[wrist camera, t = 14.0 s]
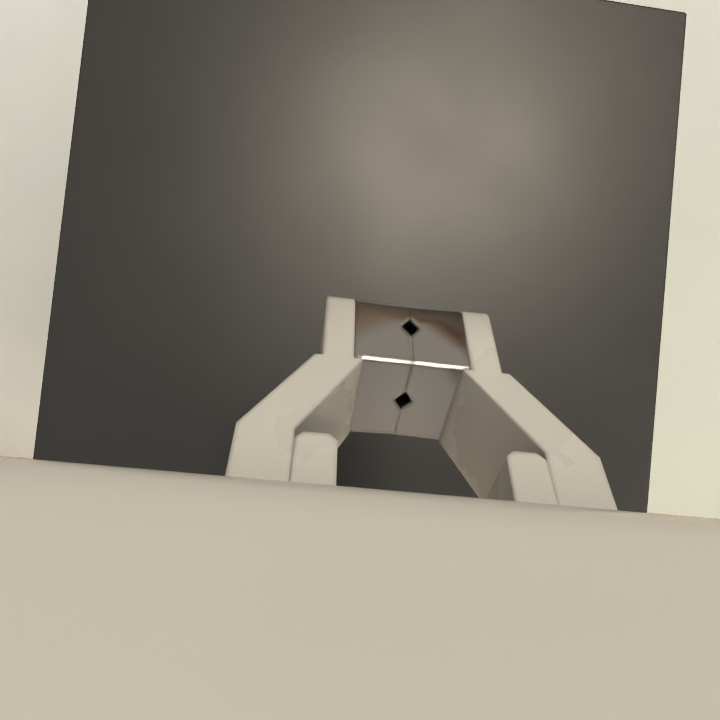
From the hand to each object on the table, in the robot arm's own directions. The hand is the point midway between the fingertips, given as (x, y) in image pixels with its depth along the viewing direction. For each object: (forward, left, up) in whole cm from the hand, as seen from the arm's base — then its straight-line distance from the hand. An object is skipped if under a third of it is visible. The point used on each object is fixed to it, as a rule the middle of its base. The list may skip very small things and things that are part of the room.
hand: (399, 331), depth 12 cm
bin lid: (0, -4, -7) cm, 8 cm away
